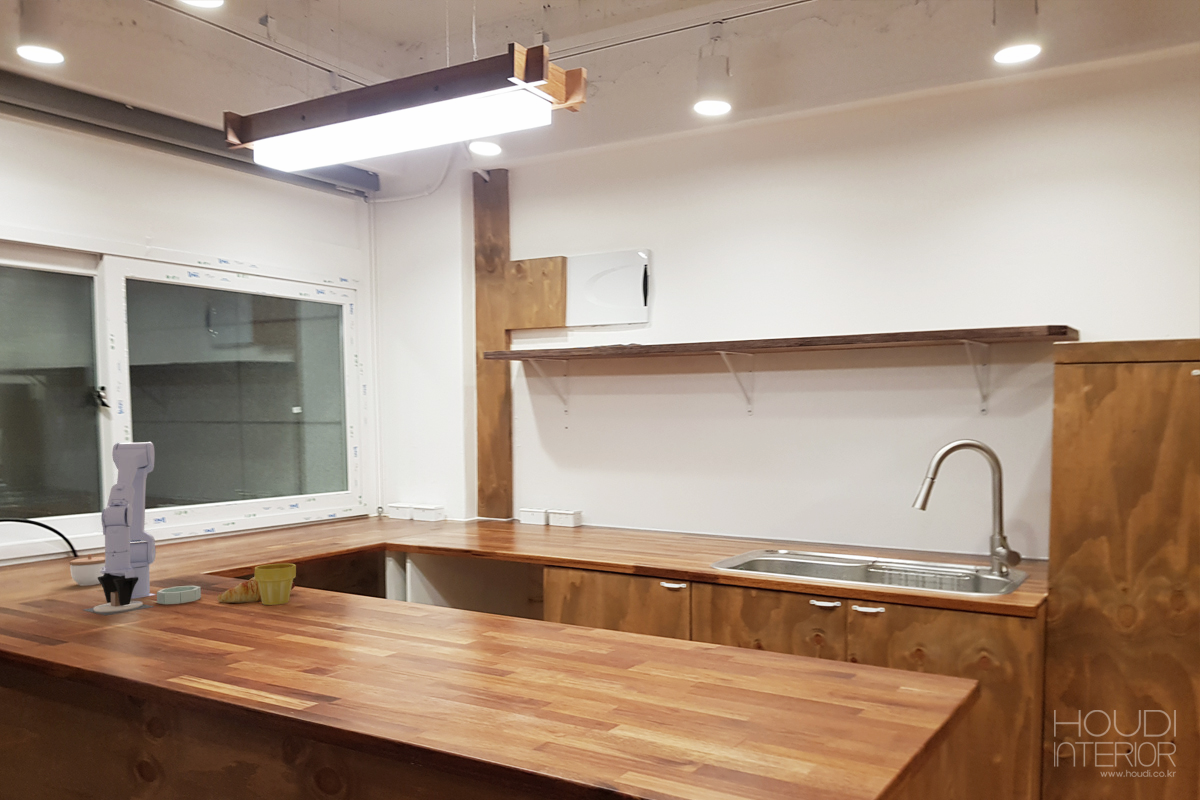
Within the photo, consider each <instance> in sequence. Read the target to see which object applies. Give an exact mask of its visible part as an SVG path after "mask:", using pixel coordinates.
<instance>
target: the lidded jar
mask: <svg viewBox="0 0 1200 800" xmlns="http://www.w3.org/2000/svg"><path fill="white" fill-rule="evenodd" d="M69 566H70V567H69V568H70V569H69V570H70V576H71V578H72V580H73V581H74V582H75V583H76V584H78V587H79V586H82V587H84V586H95V585H99V584H100V585H101V583H100V582H99V580H98V577H101V576H103V575H104V574H102V573H100V571H101V570H102V567H105V556H94V557H93V556H92V553H88V554H87V557H82V558H75V559H72V560H70V561H69Z"/></svg>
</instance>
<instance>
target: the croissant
mask: <svg viewBox="0 0 1200 800" xmlns="http://www.w3.org/2000/svg"><path fill="white" fill-rule="evenodd" d="M295 586H296V583H295V582H294V581H293V583H292V587H291V591H292V590H293V589H294V588H295ZM216 599H217V602H219V603H229V604H235V603H236V604H240V603H253V602H260V601H262V600H261V596H260V591H259V587H258V582H257V581H256V580H255V576H254V577H252V578H250V579H249V580H247V581H243V582H240V583H239V584H238V585H236V586H234V587H231V588H228V589H227V590H226V591H224V592H223V593H221V594H218V596H217V598H216Z"/></svg>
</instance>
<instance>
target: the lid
mask: <svg viewBox="0 0 1200 800" xmlns="http://www.w3.org/2000/svg"><path fill="white" fill-rule="evenodd" d="M142 605H143V601H141V600H131V601H130V604H128V605H123V606H121V605H120V603H119V597H118V591H115V592H111V602H110V603H103V604H99V605H96V606H93V608H94V612H98V613H109V612H120V611H127V610H132V609H136V608H139V607H142Z"/></svg>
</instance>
